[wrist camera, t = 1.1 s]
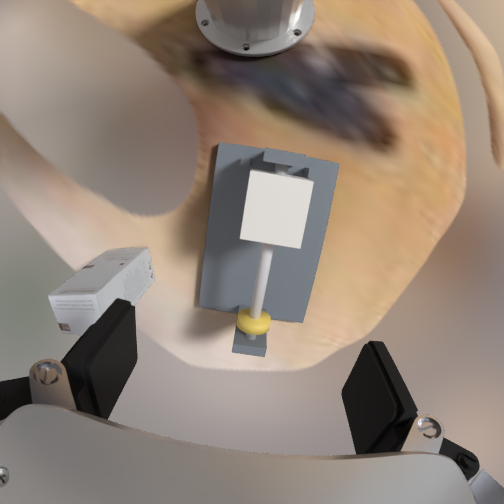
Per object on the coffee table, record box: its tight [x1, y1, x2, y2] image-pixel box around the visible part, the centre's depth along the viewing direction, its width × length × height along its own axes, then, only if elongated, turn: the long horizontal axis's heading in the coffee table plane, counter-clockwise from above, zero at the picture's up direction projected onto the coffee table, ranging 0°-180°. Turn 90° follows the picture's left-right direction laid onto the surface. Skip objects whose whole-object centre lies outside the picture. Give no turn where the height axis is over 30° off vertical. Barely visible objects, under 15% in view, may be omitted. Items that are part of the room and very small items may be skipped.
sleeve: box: [240, 169, 314, 249], centre depth 23 cm, size 5×4×4 cm
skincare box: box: [48, 247, 155, 336], centre depth 27 cm, size 6×4×12 cm
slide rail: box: [199, 142, 339, 357], centre depth 27 cm, size 18×12×8 cm, turn 171°
